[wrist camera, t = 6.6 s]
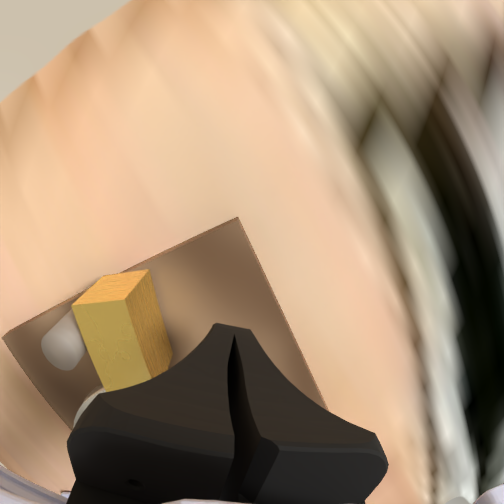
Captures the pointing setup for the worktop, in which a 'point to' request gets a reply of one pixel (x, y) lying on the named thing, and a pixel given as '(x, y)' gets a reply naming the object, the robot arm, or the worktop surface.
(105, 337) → the small silver pan
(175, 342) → the post board
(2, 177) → the worktop surface
